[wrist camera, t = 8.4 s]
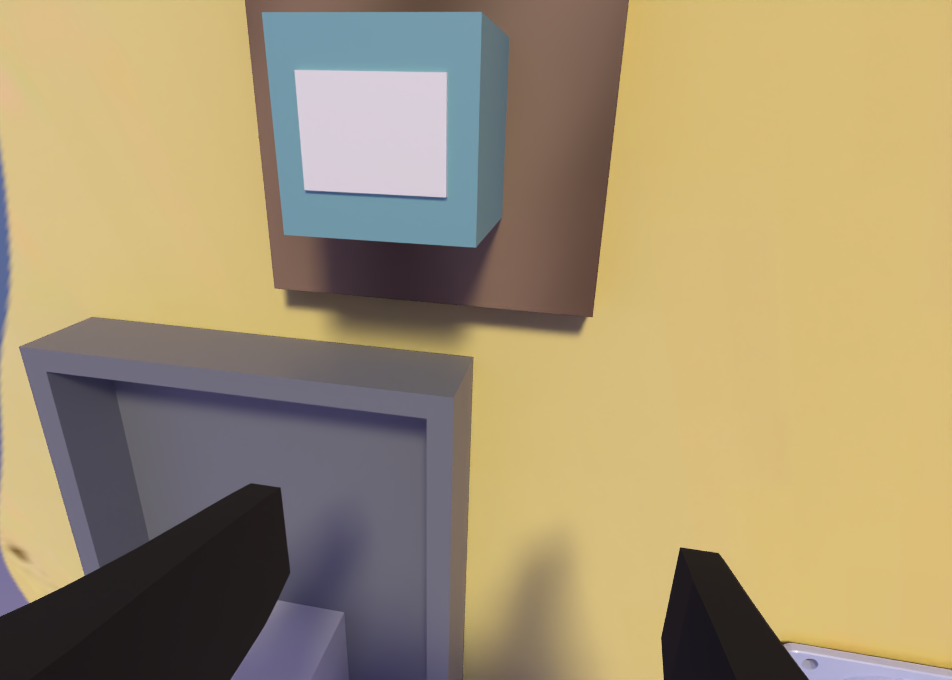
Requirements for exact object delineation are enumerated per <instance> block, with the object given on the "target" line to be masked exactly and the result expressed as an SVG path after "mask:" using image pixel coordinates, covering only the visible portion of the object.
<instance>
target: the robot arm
mask: <svg viewBox="0 0 952 680" xmlns="http://www.w3.org/2000/svg"><path fill="white" fill-rule="evenodd" d="M289 575H290V564H289V555H288V547H287V538H286V529H285V520H284V512H283V503H282V494H281V488H280V487H274V486H267V485H260V484H254V483H250V484H248V485H246V486H244V487H243V488H241V489H239V490H237V491H235V492H233V493H231V494H230V495H228V496H226V497H224V498H223V499H221V500H219V501H217V502H216V503H214V504H212V505H210V506H209V507H207V508H205V509H204V510H202V511H200V512H198V513H197V514H195V515H193V516H192V517H190V518H188V519H186V520H185V521H183V522H181V523H180V524H178V525H176V526H174V527H173V528H171V529H169V530H167V531H166V532H164V533H162V534H160V535H159V536H157V537H155V538H154V539H152V540H150V541H148V542H147V543H145V544H143V545H141V546H140V547H138V548H136V549H134V550H132V551H130V552H129V553H127V554H125V555H123V556H121V557H119V558H117V559H116V560H114V561H112V562H110V563H108V564H106V565H104V566H102V567H101V568H99V569H97V570H95V571H93V572H91V573H89V574H87V575H86V576H84V577H82V578H80V579H78V580H76V581H74V582H72V583H70V584H68V585H66V586H64V587H62V588H60V589H58V590H56V591H54V592H52V593H50V594H48V595H46V596H44V597H42V598H40V599H38V600H36V601H34V602H32V603H29V604H27V605H25V606H23V607H21V608H18V609H16V610H14V611H12V612H10V613H7V614H5V615H3V616H1V617H0V680H231V678H232V677H233V675H234V674H235V672H236V670H237V669H238V667H239V666H240V664H241V663H242V661H243V659H244V658H245V656H246V655H247V653H248V652H249V650H250V648H251V647H252V645H253V644H254V642H255V641H256V639H257V637H258V636H259V634H260V633H261V631H262V629H263V628H264V626H265V624H266V622H267V620H268V618H269V617H270V615H271V613H272V611H273V609H274V607H275V605H276V603H277V601H278V598H279V596H280V594H281V592H282V590H283V588H284V586H285V583H286V581H287V579H288V577H289ZM661 640H662V656H663V673H664V680H952V670H950V669H944V668H938V667H932V666H926V665H921V664H915V663H909V662H903V661H897V660H891V659H885V658H879V657H874V656H868V655H862V654H856V653H850V652H844V651H838V650H833V649H827V648H821V647H815V646H809V645H803V644H797V643H787V644H784V645H783V644H782V643H781V642H780V640H779V639H778V637H777V636H776V635H775V633H774V632H773V630H772V629H771V628H770V626H769V625H768V623H767V622H766V621H765V619H764V618H763V616H762V615H761V613H760V612H759V611H758V609H757V608H756V606H755V605H754V603H753V602H752V601H751V599H750V598H749V596H748V595H747V593H746V592H745V590H744V589H743V587H742V586H741V584H740V583H739V582H738V580H737V579H736V577H735V576H734V574H733V573H732V571H731V570H730V568H729V567H728V565H727V564H726V562H725V561H724V559H723V558H722V557H721V556H720V554H719V553H714V552H707V551H700V550H694V549H687V548H680V551H679V555H678V560H677V565H676V570H675V575H674V579H673V584H672V589H671V594H670V599H669V603H668V608H667V613H666V618H665V623H664V627H663V632H662V637H661ZM806 659H810V660H806Z"/></svg>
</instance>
